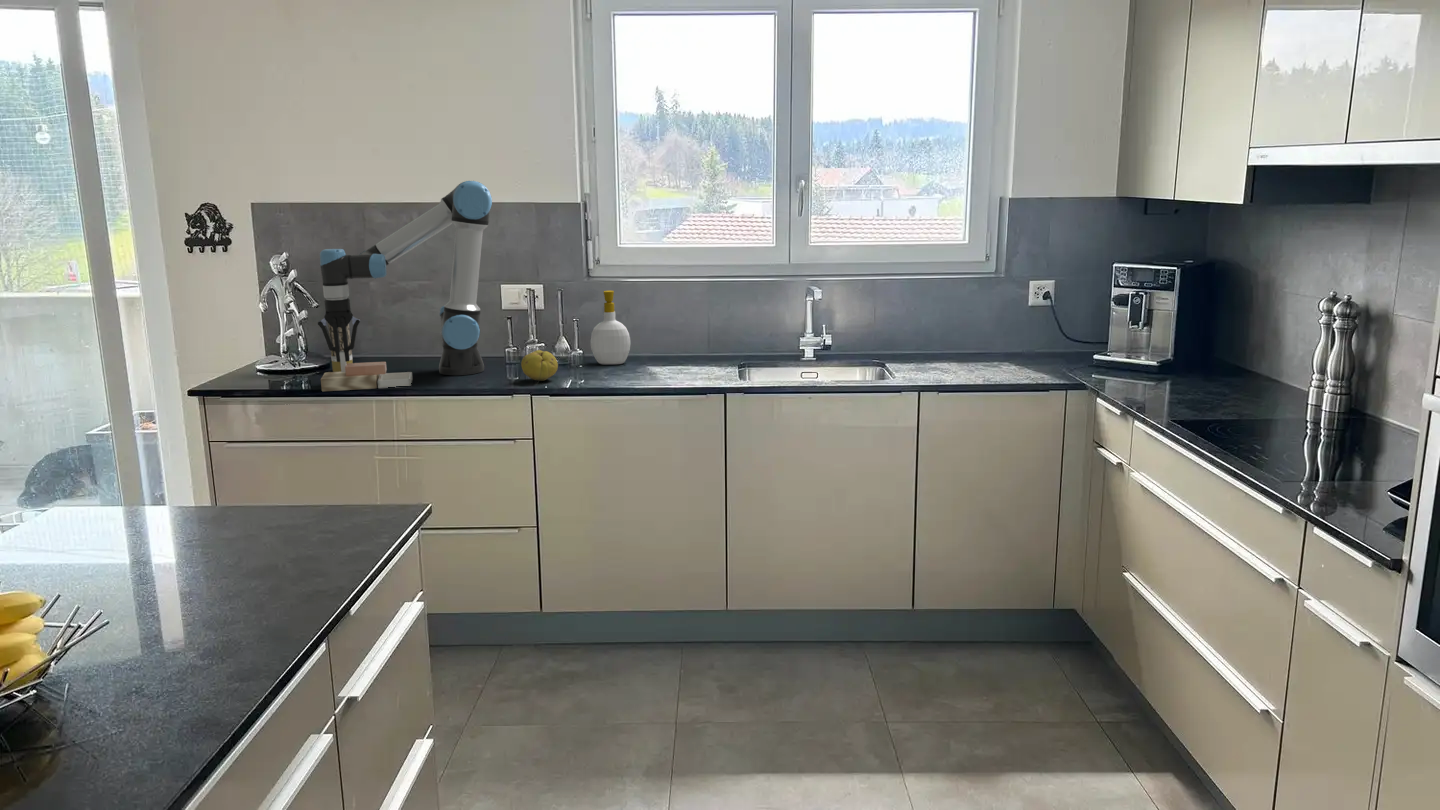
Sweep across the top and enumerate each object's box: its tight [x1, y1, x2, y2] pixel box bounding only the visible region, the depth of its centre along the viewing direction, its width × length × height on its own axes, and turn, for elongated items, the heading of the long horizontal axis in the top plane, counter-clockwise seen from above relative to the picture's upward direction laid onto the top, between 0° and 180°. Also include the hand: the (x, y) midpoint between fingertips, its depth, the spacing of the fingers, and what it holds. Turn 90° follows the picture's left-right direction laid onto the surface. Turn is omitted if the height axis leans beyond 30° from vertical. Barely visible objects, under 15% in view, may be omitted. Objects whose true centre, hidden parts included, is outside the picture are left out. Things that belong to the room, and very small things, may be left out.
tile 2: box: [365, 361, 388, 375], centre depth 325 cm, size 6×6×3 cm
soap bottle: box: [589, 290, 631, 366], centre depth 356 cm, size 14×9×26 cm, turn 88°
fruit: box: [520, 349, 559, 382], centre depth 329 cm, size 11×12×10 cm
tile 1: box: [345, 362, 367, 376], centre depth 324 cm, size 6×6×3 cm
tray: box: [377, 371, 413, 389], centre depth 327 cm, size 10×12×2 cm
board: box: [320, 371, 380, 392], centre depth 324 cm, size 16×11×4 cm, turn 104°
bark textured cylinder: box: [327, 322, 354, 372], centre depth 346 cm, size 7×7×25 cm
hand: (344, 371), depth 323 cm, fingers closed
